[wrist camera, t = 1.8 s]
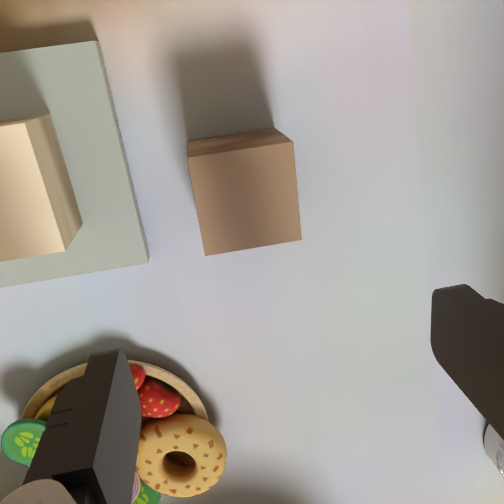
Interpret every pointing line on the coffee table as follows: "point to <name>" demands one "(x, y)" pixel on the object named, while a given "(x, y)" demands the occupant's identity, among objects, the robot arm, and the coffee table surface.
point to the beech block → (34, 190)
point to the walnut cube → (244, 190)
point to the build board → (77, 158)
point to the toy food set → (142, 434)
